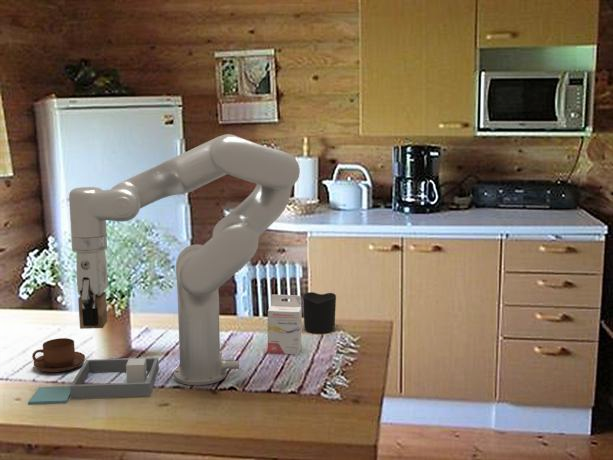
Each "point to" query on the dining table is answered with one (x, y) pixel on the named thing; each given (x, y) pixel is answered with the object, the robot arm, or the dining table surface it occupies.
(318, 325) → the pen holder
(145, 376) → the pale grey block
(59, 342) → the cup and saucer
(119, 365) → the grey square frame
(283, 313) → the ink cartridge box
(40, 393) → the pad
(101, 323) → the walnut block
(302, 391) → the dining table surface
